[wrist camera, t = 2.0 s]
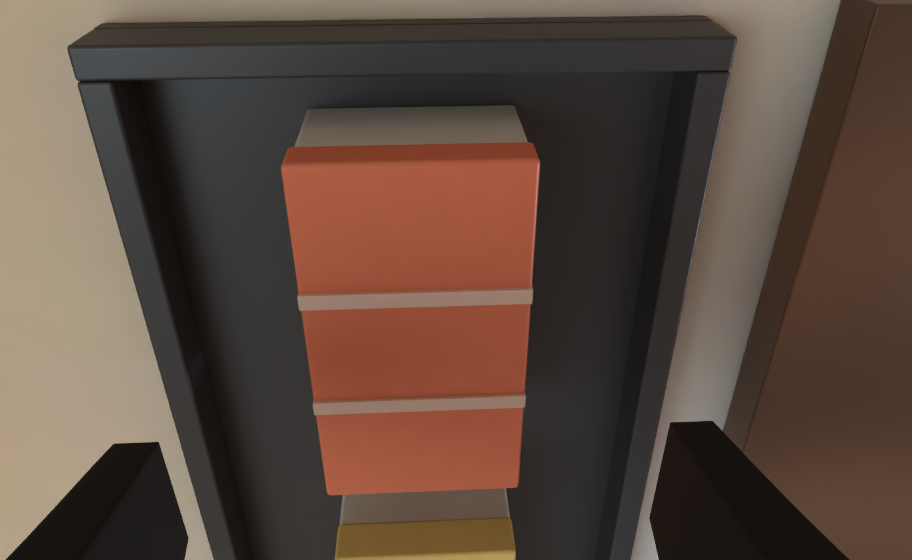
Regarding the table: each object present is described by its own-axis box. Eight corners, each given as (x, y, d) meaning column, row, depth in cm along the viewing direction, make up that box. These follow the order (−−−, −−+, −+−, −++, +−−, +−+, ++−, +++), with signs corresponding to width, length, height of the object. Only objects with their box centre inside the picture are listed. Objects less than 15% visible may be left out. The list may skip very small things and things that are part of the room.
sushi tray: (598, 616, 24) (609, 664, 23) (257, 633, 23) (248, 683, 22) (707, 15, 14) (739, 36, 12) (100, 22, 13) (64, 45, 12)
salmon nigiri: (502, 387, 18) (519, 492, 15) (339, 393, 18) (325, 499, 15) (516, 93, 14) (542, 161, 11) (305, 96, 14) (278, 167, 11)
